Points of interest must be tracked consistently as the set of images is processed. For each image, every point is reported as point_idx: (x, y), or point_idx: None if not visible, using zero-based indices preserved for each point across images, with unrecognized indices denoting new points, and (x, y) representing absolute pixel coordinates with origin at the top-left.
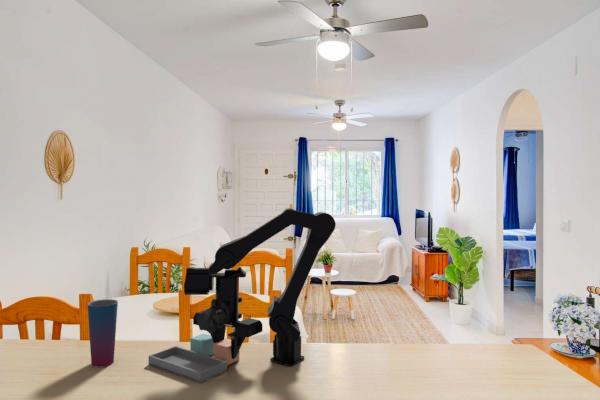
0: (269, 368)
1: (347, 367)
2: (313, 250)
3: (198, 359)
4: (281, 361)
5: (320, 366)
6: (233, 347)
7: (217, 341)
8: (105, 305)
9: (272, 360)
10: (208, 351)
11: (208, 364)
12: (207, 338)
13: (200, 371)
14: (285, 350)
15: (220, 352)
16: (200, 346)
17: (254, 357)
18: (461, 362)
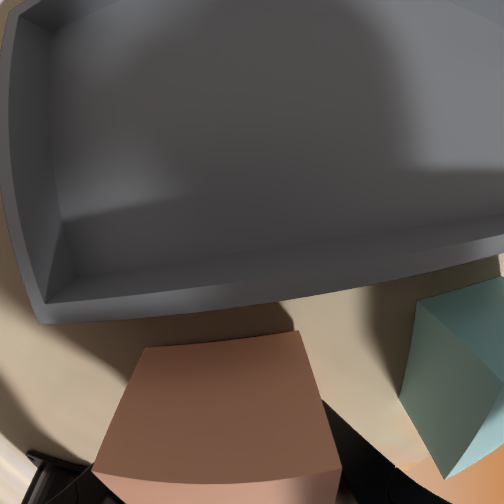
0: (31, 419)
1: (5, 468)
2: None
3: (401, 233)
4: (54, 465)
5: (17, 464)
6: (83, 480)
7: (347, 496)
8: None
9: (84, 469)
10: (425, 372)
11: (251, 242)
12: (487, 434)
13: (160, 84)
14: (34, 496)
15: (209, 412)
16: (490, 341)
17: None
18: (5, 496)
